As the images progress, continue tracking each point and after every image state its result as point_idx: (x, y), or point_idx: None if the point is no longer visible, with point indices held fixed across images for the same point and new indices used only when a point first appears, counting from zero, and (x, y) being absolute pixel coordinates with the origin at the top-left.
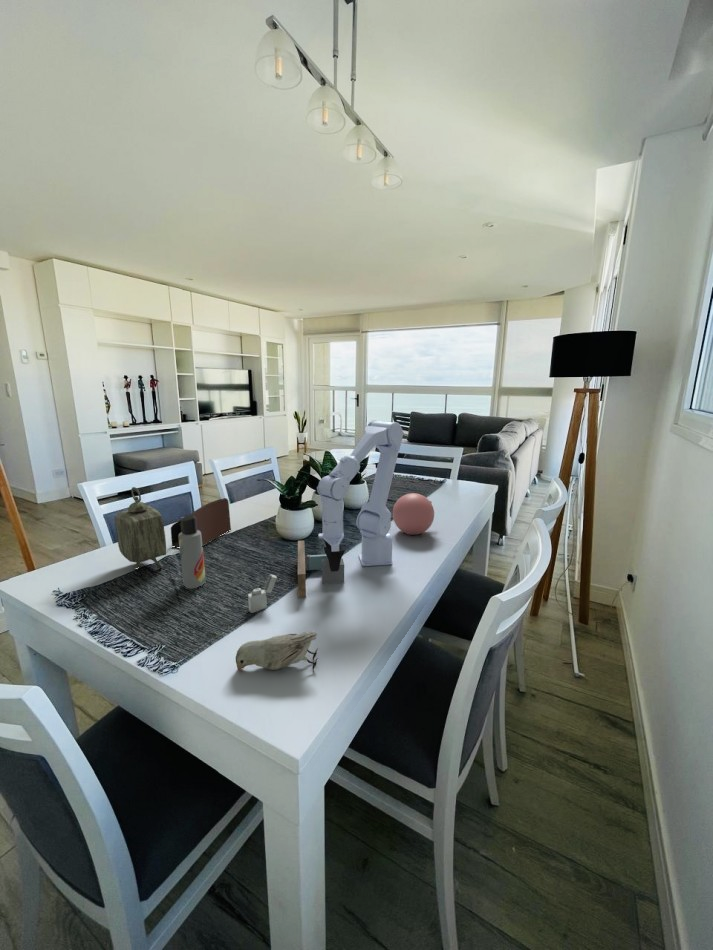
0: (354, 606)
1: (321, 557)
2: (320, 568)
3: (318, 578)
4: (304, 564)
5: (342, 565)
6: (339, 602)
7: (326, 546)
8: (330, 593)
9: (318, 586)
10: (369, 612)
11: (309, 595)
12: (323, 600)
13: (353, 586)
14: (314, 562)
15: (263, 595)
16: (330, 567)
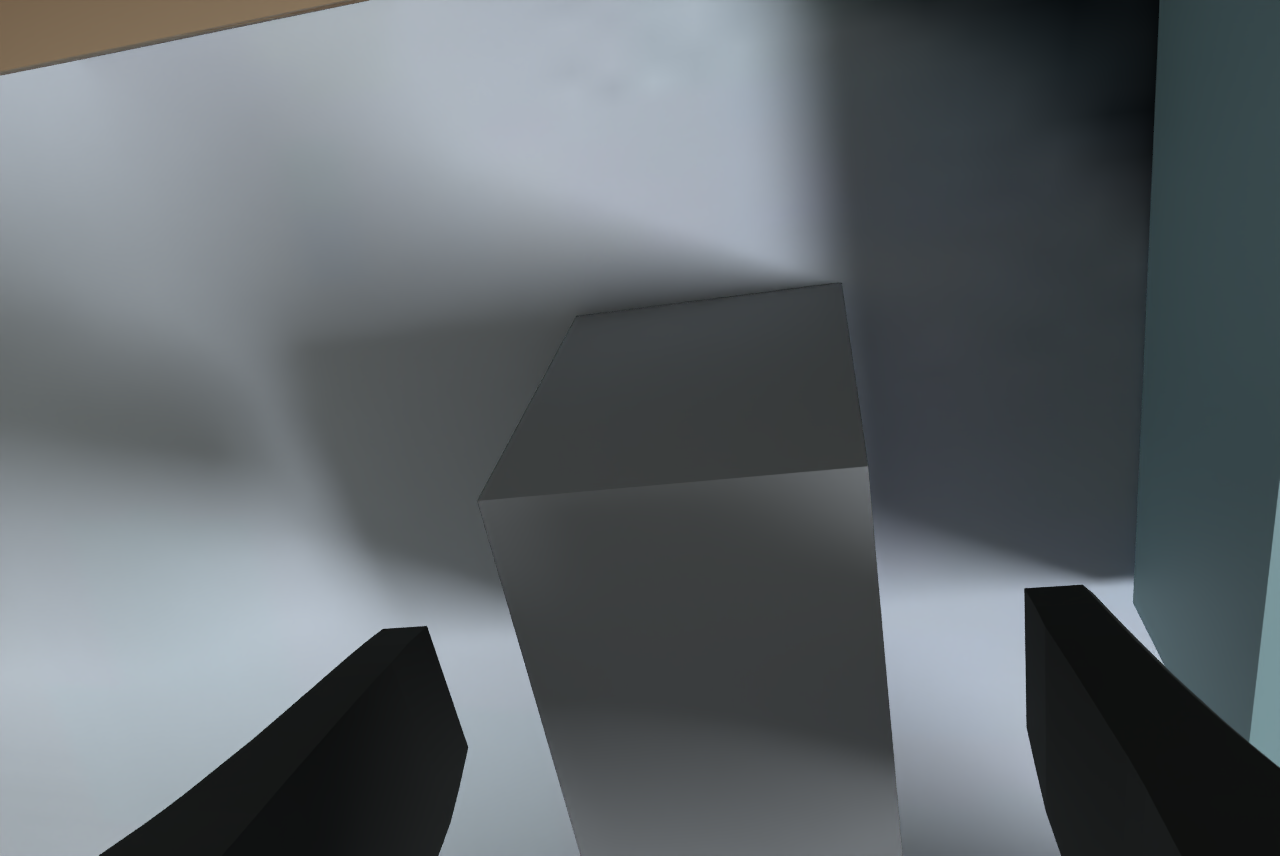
0: (80, 708)
1: (1268, 372)
2: (1154, 236)
3: (775, 213)
4: (117, 20)
5: (583, 852)
6: (106, 559)
7: (1166, 845)
8: (293, 445)
9: (473, 243)
10: (26, 822)
11: (152, 114)
12: (84, 356)
13: (534, 728)
14: (1230, 128)
15: None
16: (318, 692)
